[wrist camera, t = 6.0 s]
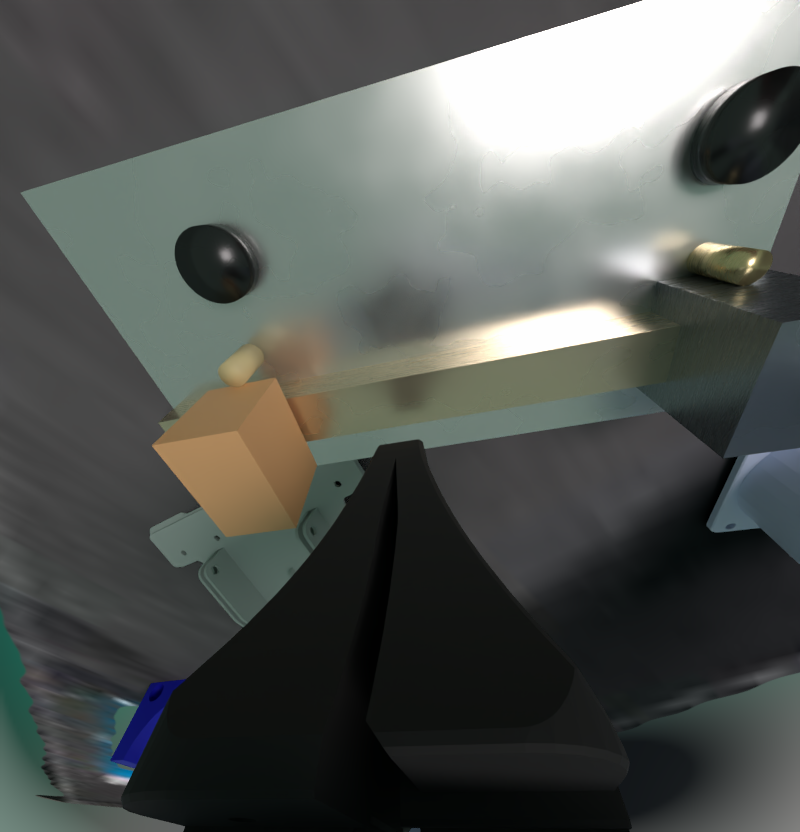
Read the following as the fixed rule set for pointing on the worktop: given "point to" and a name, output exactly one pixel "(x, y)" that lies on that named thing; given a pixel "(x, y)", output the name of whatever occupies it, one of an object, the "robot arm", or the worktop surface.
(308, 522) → the metal bracket
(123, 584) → the worktop surface
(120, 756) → the cable clip
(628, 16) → the plate
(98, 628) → the worktop surface
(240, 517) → the block
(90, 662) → the worktop surface
